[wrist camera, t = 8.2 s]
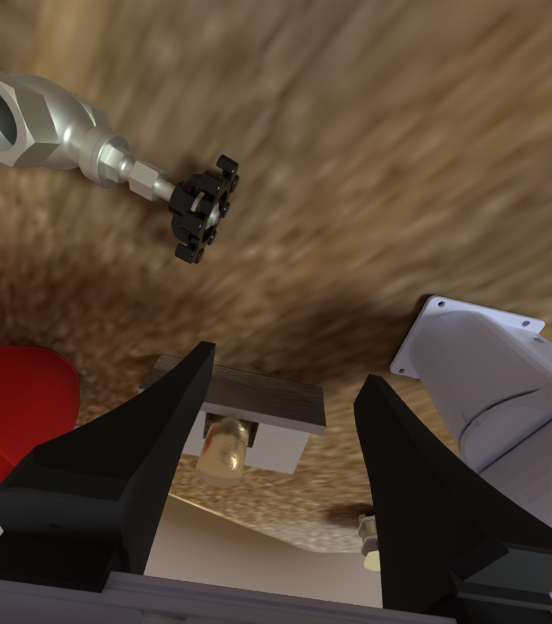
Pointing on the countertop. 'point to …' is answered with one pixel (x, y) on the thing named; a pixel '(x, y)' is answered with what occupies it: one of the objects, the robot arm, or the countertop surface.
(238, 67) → the countertop surface
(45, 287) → the countertop surface
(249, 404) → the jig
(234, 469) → the brass cylinder
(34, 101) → the valve
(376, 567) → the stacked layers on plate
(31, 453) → the robot arm
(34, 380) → the ceramic cup
